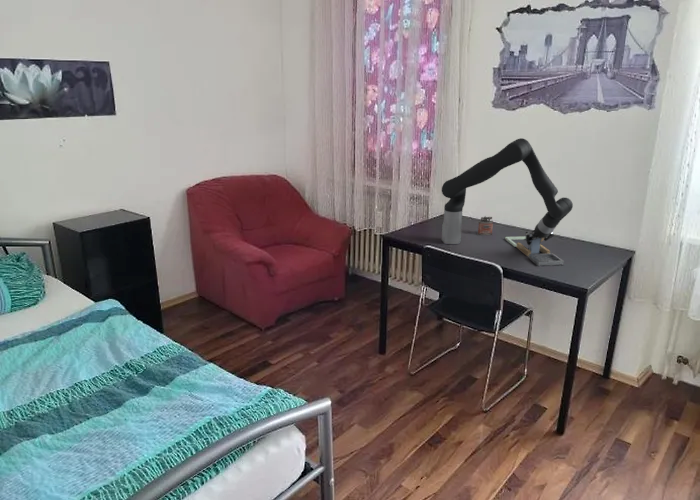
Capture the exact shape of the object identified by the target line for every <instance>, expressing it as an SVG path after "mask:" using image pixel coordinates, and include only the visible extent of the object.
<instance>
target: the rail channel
mask: <svg viewBox="0 0 700 500" xmlns="http://www.w3.org/2000/svg"><path fill="white" fill-rule="evenodd" d="M516 244H517V247H516V249H518V250H519V251H520V252H521V253H523V254H524V255H525V256H526V257H529V254H532V253H531V251H530V250H529V249H528V247H526V246H525V245H524V244H523V243H521V242H516ZM539 252H541V254H551V250H550V249H548V248H547V247H546V246H544V245H542V244H541V243H540V249H539Z"/></svg>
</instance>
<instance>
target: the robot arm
mask: <svg viewBox="0 0 700 500" xmlns="http://www.w3.org/2000/svg"><path fill="white" fill-rule="evenodd" d="M520 162H523V163H524V165H525V166H526V168H527V170H528V171H529V172H528V173H529V175H530V178H531V181H532V184H533V187H534V188H535V190H536V191H537V193H539V195H540V197H541V198H542V200H543V203H544V205H545V208H546V210H547V212H546V213H545V214H544V216H543V217H542V218H540V220H539V221H538V222H537V224H536V225H535V226H534V229H533V230H532V231H531V232H529V231H525V236H526V239H525V240H526V244H527V245H530V244H531V242H532V241H533V240H536V239H537V238H541V241H540V244H541V243H542V242H546V241H548V240H550V239H552V238H553V237H554V236H555V234H554V230H555V229H556V228H557V227H558V225H559V224H560V222H561V221H562V220H563V219H564V218H565V217H566V216H568V214H570V212H571V211H572V210H573V206H574V205H573V202H572V200H571V199H570V198H569V197H560V198H558V200H556V196H557V195H558V193H559V191H558V187H556V185H555V184H554V183H553V182H552V180H551V179H550V177H549V176H548V175H547V173H546V171H545V169H544V168H543V166H542V164H541V163H540V160H539V158H538V156H537V154H536V153H535V151H534V149H533V147H532V145H531V144H530V142H529V140H527V139H525V138H517V139H515V140H513V141H512V142H510V143H508V144H507V145H506V146H505V147H504V148H502V149H501V150H500V151H498V152H497V153H496V154H494V155H492V156H489V157H486V158H484V159H482V160H481V161H478V162H477V163H476V164H474V165H473V166H471V167H470V168H468V169H466V170H464V171H463V172H462V173H461V174H459V175H457V176H456V177H453V178H450V179H448V180H446V181H444V183H443V184H442V186H441V194H442V196H443V197H445V198H447V199H449V200H448V201H447V202H446V203H445V204H444V206H443V207H444V209H443V210H444V212H443V223H442V225H441V227H442V228H441V230H442V231H441V241H442V243H443V244H447V245H459V244H460V243H461V239H462V238H461V237H462V224H463V223H462V222H463V209H464V206H465V202H466V194H467V189H468V188H471V187H474V186H476V185H479V184H482V183H485V182H487V181H488V180H490V179H491V178H493V177H494V176H496V175H497V174H498V173H500V171H502V170H503V169H505V168H507V167H508V168H509V167H510V166H512V165H515V164H517V163H520Z"/></svg>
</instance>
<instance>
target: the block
mask: <svg viewBox="0 0 700 500" xmlns="http://www.w3.org/2000/svg"><path fill="white" fill-rule="evenodd" d="M540 241H541V238H537V239H536V240H533V241H532V242H531V244H530V245H528V244H527V245H528V246H527V249H529V250H530V251H531V254H540V251H539V249H540V244H541V243H540Z"/></svg>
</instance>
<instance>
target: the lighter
mask: <svg viewBox="0 0 700 500" xmlns="http://www.w3.org/2000/svg"><path fill="white" fill-rule="evenodd" d="M493 223H494V221H493V216H486V215H485V216H480V220H478V227H477V236H478V235H479V236H493V226H494V224H493Z"/></svg>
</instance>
